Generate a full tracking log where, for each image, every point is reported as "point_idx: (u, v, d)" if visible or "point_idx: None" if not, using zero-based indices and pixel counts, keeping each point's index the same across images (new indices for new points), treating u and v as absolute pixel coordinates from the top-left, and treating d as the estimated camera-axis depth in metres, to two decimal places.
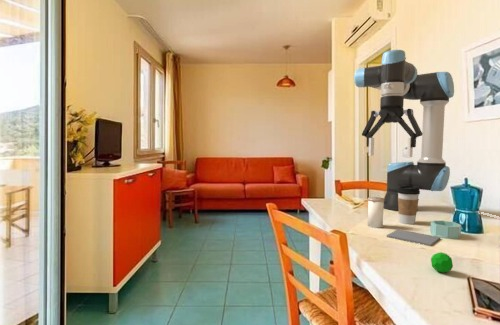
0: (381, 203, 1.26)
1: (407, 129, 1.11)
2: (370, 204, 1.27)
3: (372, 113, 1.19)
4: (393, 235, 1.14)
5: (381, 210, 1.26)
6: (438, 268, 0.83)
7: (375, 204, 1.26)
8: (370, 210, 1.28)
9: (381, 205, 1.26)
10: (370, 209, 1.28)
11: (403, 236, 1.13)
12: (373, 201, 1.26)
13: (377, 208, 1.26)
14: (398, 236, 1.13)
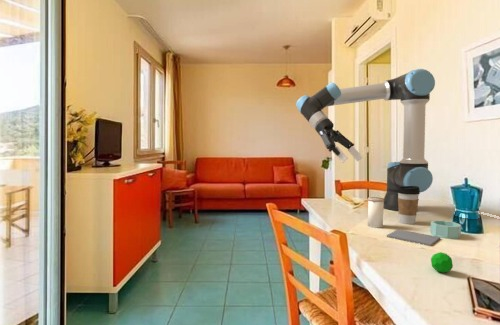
0: (381, 203, 1.26)
1: None
2: (370, 204, 1.27)
3: None
4: (393, 235, 1.14)
5: (381, 210, 1.26)
6: (438, 268, 0.83)
7: (375, 204, 1.26)
8: (370, 210, 1.28)
9: (381, 205, 1.26)
10: (370, 209, 1.28)
11: (403, 236, 1.13)
12: (373, 201, 1.26)
13: (377, 208, 1.26)
14: (398, 236, 1.13)
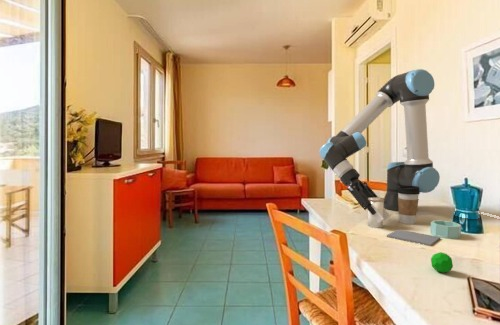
0: (381, 203, 1.26)
1: None
2: None
3: None
4: (393, 235, 1.14)
5: (381, 210, 1.26)
6: (438, 268, 0.83)
7: (375, 204, 1.26)
8: None
9: (381, 205, 1.26)
10: None
11: (403, 236, 1.13)
12: (373, 201, 1.26)
13: (377, 208, 1.26)
14: (398, 236, 1.13)
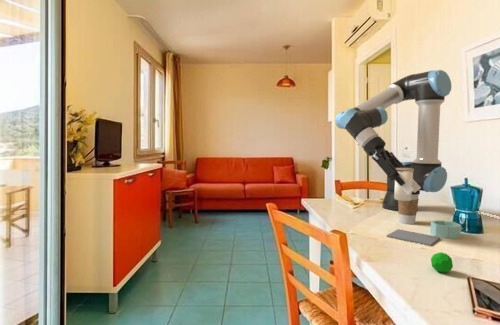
0: (410, 173, 1.12)
1: None
2: None
3: None
4: (393, 235, 1.14)
5: (410, 181, 1.13)
6: (438, 268, 0.83)
7: (403, 174, 1.12)
8: None
9: (410, 175, 1.12)
10: None
11: (403, 236, 1.13)
12: (401, 171, 1.13)
13: (406, 178, 1.12)
14: (398, 236, 1.13)
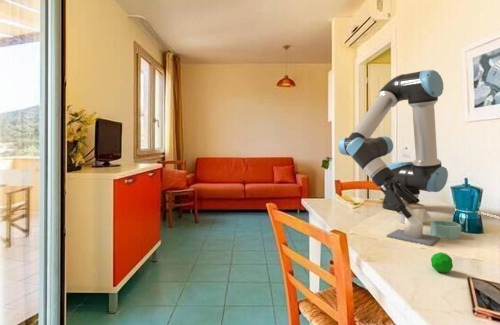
0: (421, 210, 1.11)
1: None
2: None
3: None
4: (393, 235, 1.14)
5: (421, 218, 1.11)
6: (438, 268, 0.83)
7: (414, 211, 1.11)
8: None
9: (421, 212, 1.11)
10: None
11: (403, 236, 1.13)
12: (412, 208, 1.11)
13: (416, 216, 1.11)
14: (398, 236, 1.13)
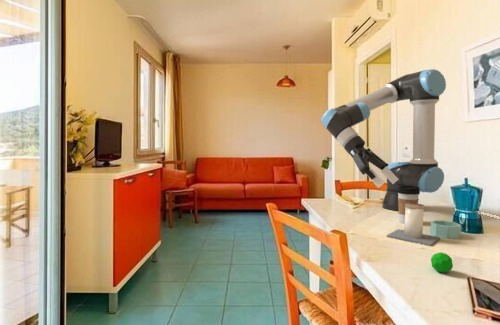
0: (421, 210, 1.11)
1: None
2: (408, 211, 1.12)
3: None
4: (393, 235, 1.14)
5: (421, 218, 1.11)
6: (438, 268, 0.83)
7: (414, 211, 1.11)
8: (408, 218, 1.12)
9: (421, 212, 1.11)
10: (408, 217, 1.12)
11: (403, 236, 1.13)
12: (412, 208, 1.11)
13: (416, 216, 1.11)
14: (398, 236, 1.13)
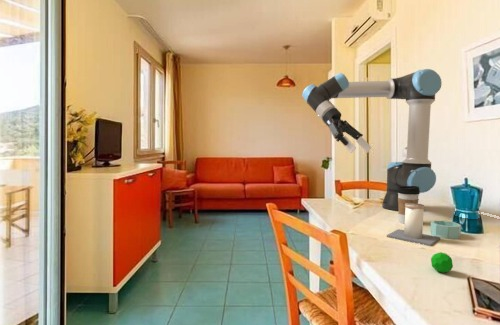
0: (421, 210, 1.11)
1: None
2: (408, 211, 1.12)
3: None
4: (393, 235, 1.14)
5: (421, 218, 1.11)
6: (438, 268, 0.83)
7: (414, 211, 1.11)
8: (408, 218, 1.12)
9: (421, 212, 1.11)
10: (408, 217, 1.12)
11: (403, 236, 1.13)
12: (412, 208, 1.11)
13: (416, 216, 1.11)
14: (398, 236, 1.13)
